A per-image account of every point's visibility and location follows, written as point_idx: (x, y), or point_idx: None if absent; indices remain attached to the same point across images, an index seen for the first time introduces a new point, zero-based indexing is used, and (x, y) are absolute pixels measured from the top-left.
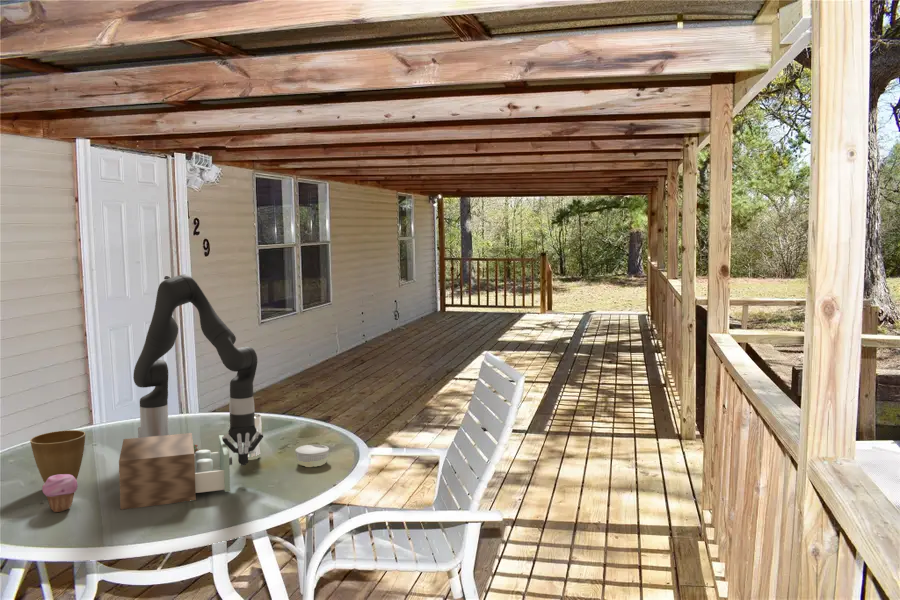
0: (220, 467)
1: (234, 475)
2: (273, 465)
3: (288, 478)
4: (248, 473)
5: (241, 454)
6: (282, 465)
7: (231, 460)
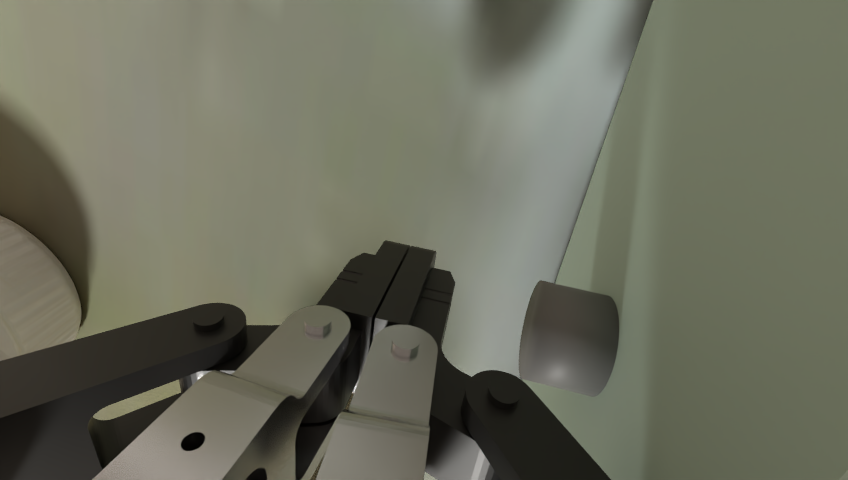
0: None
1: (460, 347)
2: None
3: (129, 85)
4: None
5: (401, 323)
6: None
7: (554, 304)
